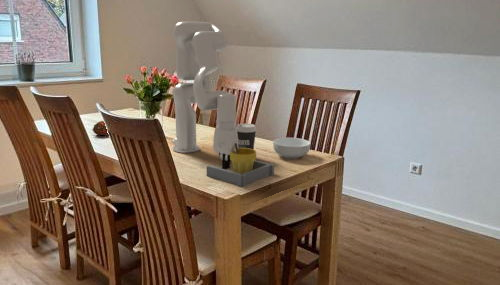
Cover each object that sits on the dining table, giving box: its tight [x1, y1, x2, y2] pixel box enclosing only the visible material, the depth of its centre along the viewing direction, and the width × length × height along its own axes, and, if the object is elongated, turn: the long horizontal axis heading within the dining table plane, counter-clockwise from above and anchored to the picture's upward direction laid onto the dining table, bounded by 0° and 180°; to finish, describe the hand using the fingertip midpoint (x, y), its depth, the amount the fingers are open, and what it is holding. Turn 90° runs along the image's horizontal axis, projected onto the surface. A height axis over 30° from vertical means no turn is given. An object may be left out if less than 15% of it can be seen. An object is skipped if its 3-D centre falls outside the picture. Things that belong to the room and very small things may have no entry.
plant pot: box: [230, 148, 257, 174], centre depth 174 cm, size 10×10×10 cm
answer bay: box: [206, 160, 275, 187], centre depth 174 cm, size 19×20×4 cm
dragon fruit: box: [91, 120, 109, 136], centre depth 235 cm, size 8×8×12 cm
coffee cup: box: [236, 123, 258, 150], centre depth 196 cm, size 10×10×15 cm
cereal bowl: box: [272, 137, 311, 160], centre depth 201 cm, size 17×17×7 cm
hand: (226, 168), depth 179 cm, fingers closed
